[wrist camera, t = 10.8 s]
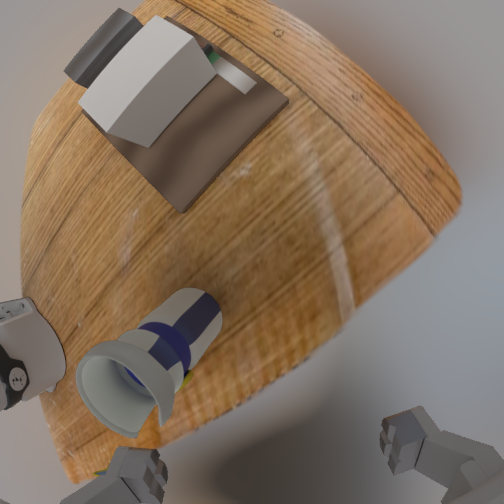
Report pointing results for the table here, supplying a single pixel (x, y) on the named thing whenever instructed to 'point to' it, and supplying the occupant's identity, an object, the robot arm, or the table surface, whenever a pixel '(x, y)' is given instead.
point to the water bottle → (148, 362)
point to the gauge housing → (148, 82)
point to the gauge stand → (186, 115)
